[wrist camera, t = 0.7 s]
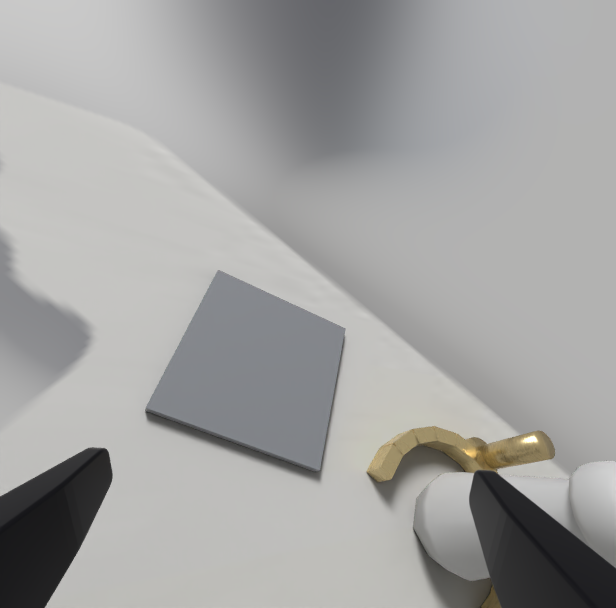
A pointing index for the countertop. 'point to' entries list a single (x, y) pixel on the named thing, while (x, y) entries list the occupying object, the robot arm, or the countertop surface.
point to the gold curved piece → (464, 457)
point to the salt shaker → (541, 490)
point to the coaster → (254, 373)
